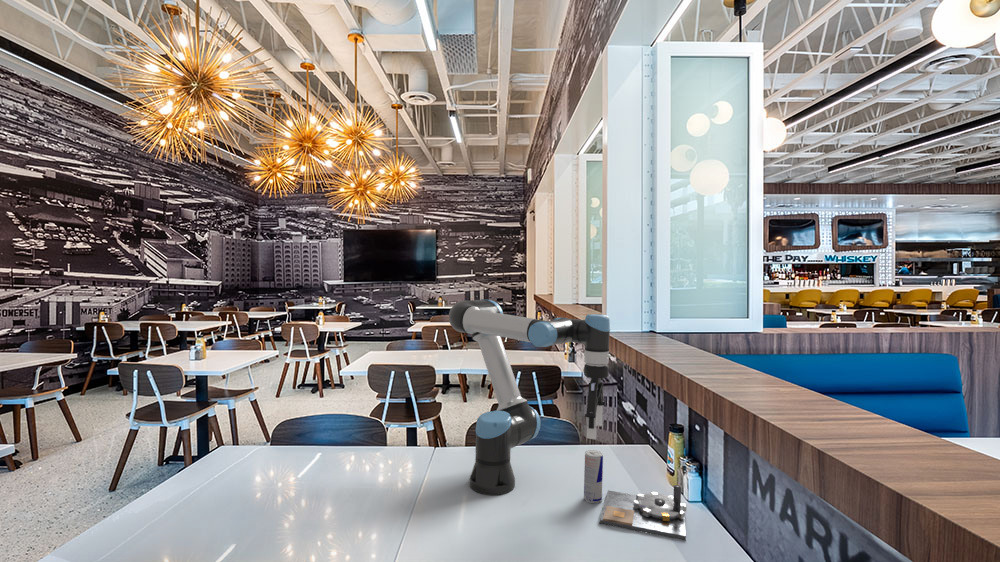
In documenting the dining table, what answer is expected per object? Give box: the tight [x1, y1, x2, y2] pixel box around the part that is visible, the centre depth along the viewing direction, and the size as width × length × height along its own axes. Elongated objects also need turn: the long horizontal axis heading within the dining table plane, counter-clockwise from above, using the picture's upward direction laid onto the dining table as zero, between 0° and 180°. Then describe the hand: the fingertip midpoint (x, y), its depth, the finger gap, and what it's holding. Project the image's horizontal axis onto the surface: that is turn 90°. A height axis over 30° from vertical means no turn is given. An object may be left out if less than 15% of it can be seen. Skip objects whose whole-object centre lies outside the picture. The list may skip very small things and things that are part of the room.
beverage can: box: [583, 449, 604, 504], centre depth 153 cm, size 6×6×15 cm
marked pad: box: [603, 506, 634, 526], centre depth 141 cm, size 8×8×1 cm
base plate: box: [599, 489, 687, 541], centre depth 144 cm, size 23×20×1 cm
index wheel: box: [634, 484, 687, 521], centre depth 146 cm, size 15×15×8 cm
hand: (594, 431), depth 153 cm, fingers open, 13 cm apart
